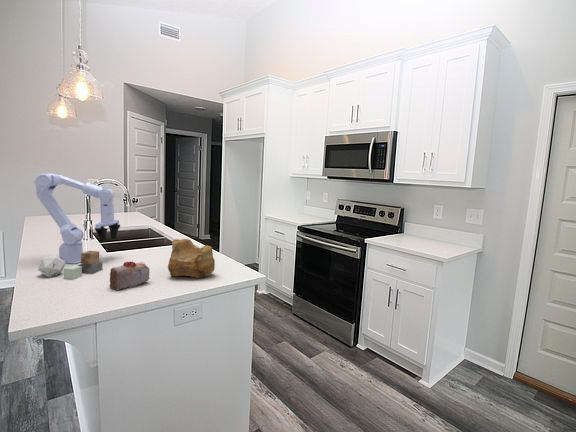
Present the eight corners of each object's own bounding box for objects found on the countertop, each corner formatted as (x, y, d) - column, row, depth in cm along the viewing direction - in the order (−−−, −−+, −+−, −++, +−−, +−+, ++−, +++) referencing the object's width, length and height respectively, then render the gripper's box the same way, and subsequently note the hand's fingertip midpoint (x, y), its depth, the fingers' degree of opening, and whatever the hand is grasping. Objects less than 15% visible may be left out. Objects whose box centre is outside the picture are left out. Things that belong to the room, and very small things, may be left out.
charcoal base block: (79, 273, 143) (78, 264, 142) (88, 269, 149) (88, 260, 148) (93, 274, 142) (92, 265, 142) (102, 269, 149) (102, 261, 148)
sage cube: (63, 278, 135) (63, 268, 134) (72, 275, 139) (72, 265, 139) (73, 279, 134) (73, 269, 134) (81, 276, 139) (81, 266, 138)
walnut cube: (81, 264, 143) (80, 253, 142) (89, 261, 148) (89, 250, 147) (91, 265, 142) (91, 254, 141) (99, 262, 147) (99, 251, 146)
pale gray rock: (34, 279, 134) (42, 263, 131) (37, 264, 140) (45, 248, 137) (57, 283, 139) (66, 267, 136) (60, 268, 146) (68, 252, 142)
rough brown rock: (153, 275, 145) (151, 244, 142) (181, 264, 160) (180, 235, 156) (191, 288, 135) (190, 254, 131) (218, 274, 149) (217, 243, 145)
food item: (140, 278, 139) (140, 256, 138) (151, 283, 134) (151, 260, 133) (108, 287, 128) (107, 263, 126) (118, 292, 123) (117, 267, 122)
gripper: (104, 215, 152) (105, 243, 154) (124, 211, 166) (125, 237, 168) (90, 214, 153) (92, 242, 155) (111, 211, 167) (112, 236, 169)
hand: (108, 240), depth 161 cm, fingers open, 7 cm apart
